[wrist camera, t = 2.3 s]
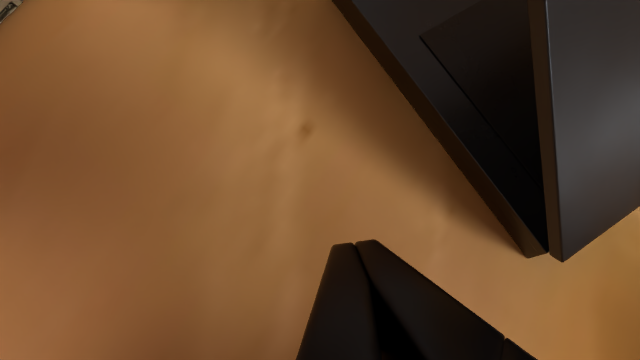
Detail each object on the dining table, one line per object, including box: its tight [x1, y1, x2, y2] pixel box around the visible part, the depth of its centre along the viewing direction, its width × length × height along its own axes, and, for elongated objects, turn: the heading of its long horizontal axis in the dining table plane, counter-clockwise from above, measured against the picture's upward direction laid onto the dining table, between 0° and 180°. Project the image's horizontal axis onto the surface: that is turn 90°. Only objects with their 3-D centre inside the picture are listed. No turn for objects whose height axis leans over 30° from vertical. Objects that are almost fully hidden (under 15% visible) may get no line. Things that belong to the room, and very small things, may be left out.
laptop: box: [332, 0, 549, 258], centre depth 25 cm, size 17×21×2 cm
